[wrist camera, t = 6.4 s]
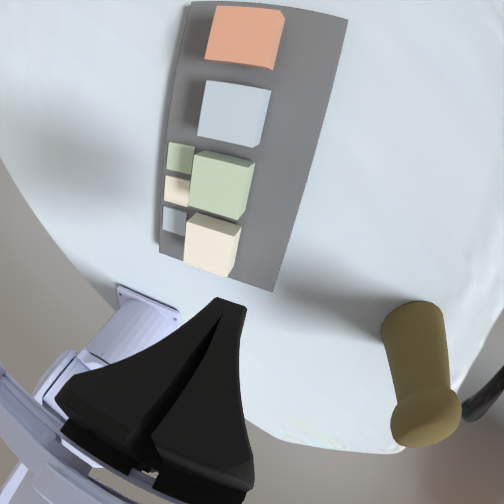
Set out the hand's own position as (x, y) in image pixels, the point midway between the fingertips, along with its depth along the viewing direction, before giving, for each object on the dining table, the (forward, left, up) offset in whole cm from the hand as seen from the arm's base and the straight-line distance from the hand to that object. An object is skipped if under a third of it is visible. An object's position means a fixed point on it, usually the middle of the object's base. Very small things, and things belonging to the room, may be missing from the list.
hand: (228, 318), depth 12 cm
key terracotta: (+12, +4, -8) cm, 15 cm away
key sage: (+3, +4, -9) cm, 10 cm away
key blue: (+7, +4, -9) cm, 12 cm away
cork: (-5, -14, -10) cm, 18 cm away
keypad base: (+5, +4, -10) cm, 12 cm away
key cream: (-2, +4, -9) cm, 10 cm away
